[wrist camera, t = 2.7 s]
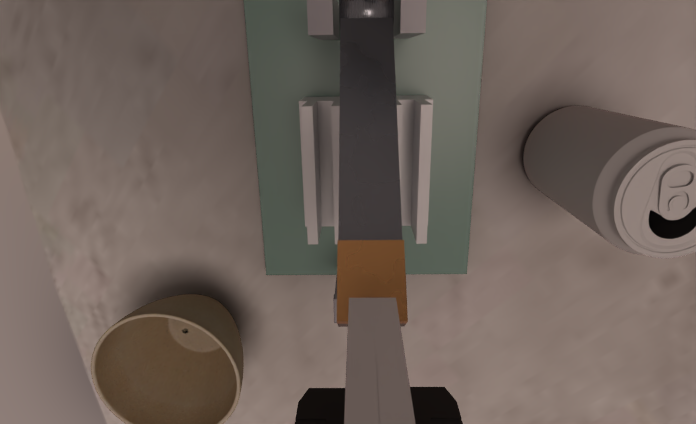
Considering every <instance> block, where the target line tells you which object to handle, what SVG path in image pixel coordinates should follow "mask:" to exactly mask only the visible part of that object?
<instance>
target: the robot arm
mask: <svg viewBox="0 0 696 424" xmlns="http://www.w3.org/2000/svg"><path fill="white" fill-rule="evenodd" d="M295 424H463V423H462V421H461V416H460V412H459V409H458V405H457V402H456V400H455V399H454V398H453V397H452V395H451V394H450V393H449V392H448V391H447V390H446V388H445V387H410V385H409V379H408V372H407V366H406V359H405V353H404V346H403V340H402V333H401V327H400V321H399V314H398V308H397V301H396V298H349V311H348V337H347V362H346V387H345V388H309V389H308V390H307V392H306V393H305V394H304V396H303V397H302V398H301V400H300V401H299V403H298V408H297V414H296V422H295Z"/></svg>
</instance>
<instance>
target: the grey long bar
mask: <svg viewBox="0 0 696 424" xmlns="http://www.w3.org/2000/svg"><path fill="white" fill-rule="evenodd" d="M339 21H340V118H339V223H338V243H337V324H338V326H339V327H347V326H348V311H349V298H396V301H397V308H398V314H399V321H400V326H405V325H406V323H407V322H408V318H407V295H406V273H405V251H404V240H402V217H401V194H400V171H399V148H398V125H397V102H396V79H395V56H394V33H393V24H394V0H339Z"/></svg>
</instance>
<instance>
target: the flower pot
mask: <svg viewBox="0 0 696 424" xmlns="http://www.w3.org/2000/svg"><path fill="white" fill-rule="evenodd" d="M185 331H188V332H187V333H185ZM91 374H92V379H93V383H94V386H95V388H96V391H97V393H98V394H99V396H100V398H101V399H102V401H103V402H104V404H105V405H106V406H107V407H108V408H109V410H110V411H111V412H112V413H113V414H114V415H115V416H116V417H118V418H119V419H120V420H122V421H123V422H124V423H126V424H223V423H224V422H225V421H226V420H227V419H228V418H229V417H230V416H231V414H232V413H233V412H234V410H235V408H236V406H237V403H238V400H239V396H240V392H241V386H242V379H243V349H242V343H241V338H240V335H239V331H238V329H237V326H236V324H235V322H234V320H233V318H232V316H231V315H230V313H229V312H228V310H227V309H226V308H225V307H224V306H223V305H222V304H221V303H220V302H218V301H217V300H215V299H213V298H211V297H208V296H204V295H197V294H184V295H177V296H171V297H167V298H163V299H160V300H157V301H155V302H152V303H150V304H147V305H145V306H143V307H141V308H139V309H137V310H136V311H134V312H132V313H130V314H129V315H127V316H126V317H124V318H123V319H121V320H120V321H118V322H117V323H116V324H114V325H113V326H112V327H111V328H109V329H108V330H107V331H106V332H105V333H104V334H103V335H102V337H101V338H100V339H99V341H98V343H97V345H96V347H95V349H94V352H93V355H92V361H91Z"/></svg>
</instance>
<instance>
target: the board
mask: <svg viewBox="0 0 696 424" xmlns="http://www.w3.org/2000/svg"><path fill="white" fill-rule="evenodd" d="M486 7H487V0H394V24H393V33H394V56H395V79H396V102H397V125H398V148H399V171H400V194H401V217H402V240H404V251H405V273H406V274H467V263H468V250H469V236H470V223H471V209H472V196H473V182H474V169H475V155H476V142H477V128H478V115H479V101H480V88H481V74H482V61H483V47H484V34H485V20H486ZM244 11H245V23H246V35H247V47H248V59H249V71H250V83H251V95H252V107H253V119H254V131H255V143H256V155H257V167H258V179H259V191H260V204H261V216H262V228H263V240H264V252H265V264H266V275H337V243H338V223H339V118H340V21H339V0H244ZM334 323H337V278H336V288H335V294H334Z"/></svg>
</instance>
